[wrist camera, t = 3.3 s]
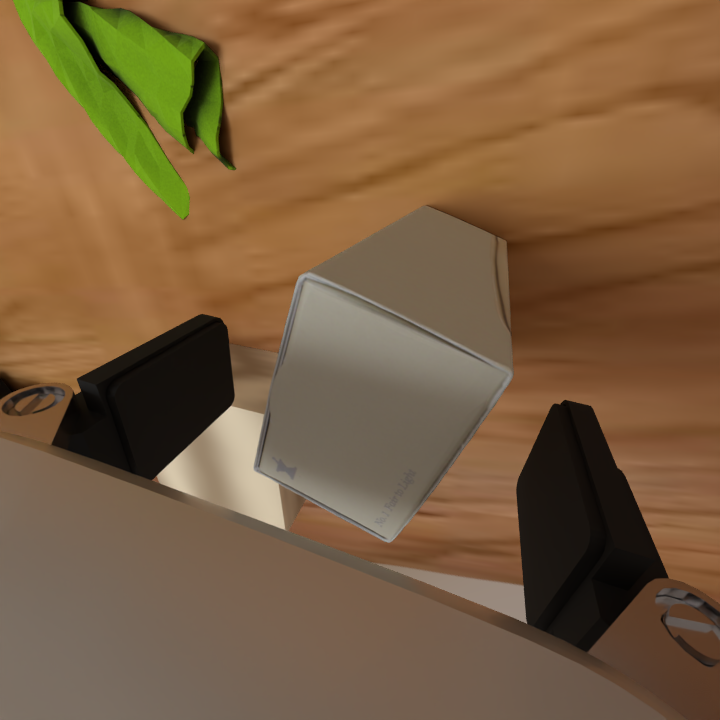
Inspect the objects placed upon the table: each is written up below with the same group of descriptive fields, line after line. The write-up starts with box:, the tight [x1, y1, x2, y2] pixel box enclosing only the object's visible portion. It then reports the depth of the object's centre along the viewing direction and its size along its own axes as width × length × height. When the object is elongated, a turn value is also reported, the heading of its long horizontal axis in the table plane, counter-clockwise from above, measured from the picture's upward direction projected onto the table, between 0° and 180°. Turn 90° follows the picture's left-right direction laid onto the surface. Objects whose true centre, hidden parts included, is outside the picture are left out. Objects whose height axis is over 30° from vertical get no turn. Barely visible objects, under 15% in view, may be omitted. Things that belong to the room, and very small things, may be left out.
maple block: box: [157, 343, 306, 531], centre depth 24 cm, size 10×10×6 cm
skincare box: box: [253, 206, 514, 542], centre depth 13 cm, size 6×4×12 cm
